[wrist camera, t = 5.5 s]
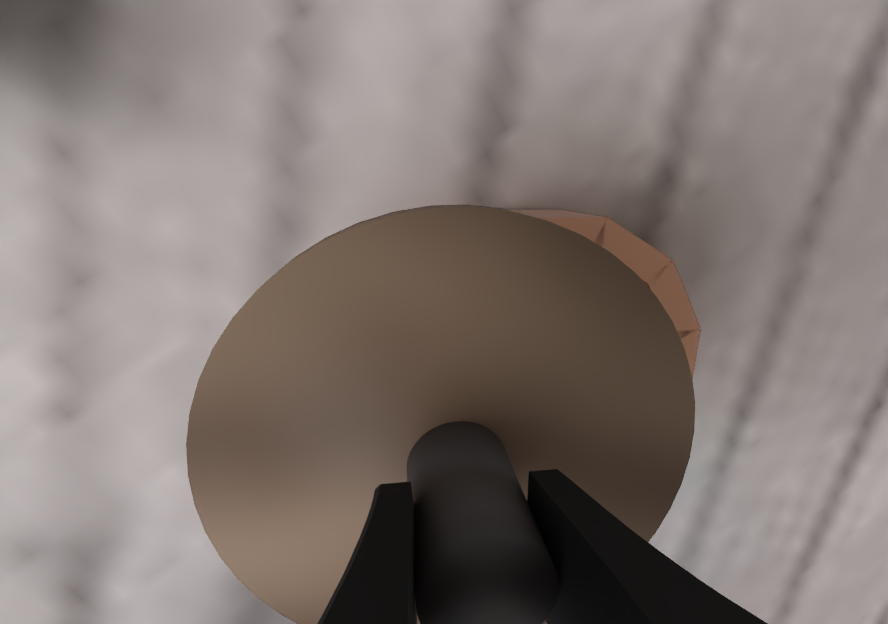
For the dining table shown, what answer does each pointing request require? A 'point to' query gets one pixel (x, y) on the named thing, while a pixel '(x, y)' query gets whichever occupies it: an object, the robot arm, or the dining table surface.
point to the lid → (436, 408)
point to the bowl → (636, 267)
